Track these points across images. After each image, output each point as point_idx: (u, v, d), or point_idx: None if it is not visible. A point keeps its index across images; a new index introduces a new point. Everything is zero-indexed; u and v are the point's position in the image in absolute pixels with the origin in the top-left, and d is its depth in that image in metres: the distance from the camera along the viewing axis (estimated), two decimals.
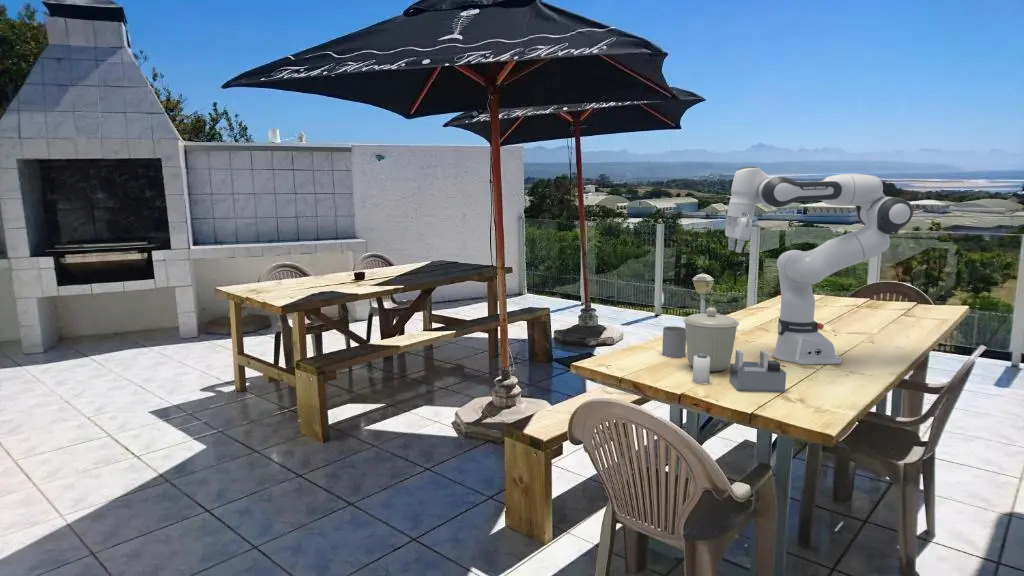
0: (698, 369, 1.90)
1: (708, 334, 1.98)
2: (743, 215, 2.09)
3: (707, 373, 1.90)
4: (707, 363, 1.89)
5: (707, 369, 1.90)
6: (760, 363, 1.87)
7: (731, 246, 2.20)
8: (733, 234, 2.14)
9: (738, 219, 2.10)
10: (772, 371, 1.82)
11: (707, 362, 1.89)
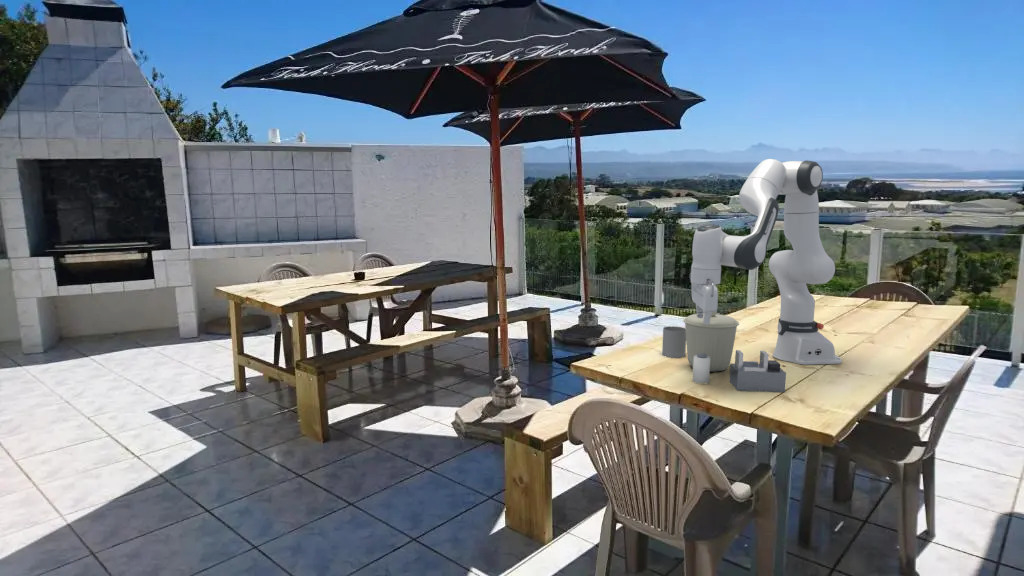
0: (698, 369, 1.90)
1: (708, 334, 1.98)
2: (707, 282, 1.82)
3: (707, 373, 1.90)
4: (707, 363, 1.89)
5: (707, 369, 1.90)
6: (760, 363, 1.87)
7: (699, 314, 1.93)
8: (699, 303, 1.87)
9: (702, 287, 1.83)
10: (772, 371, 1.82)
11: (707, 362, 1.89)
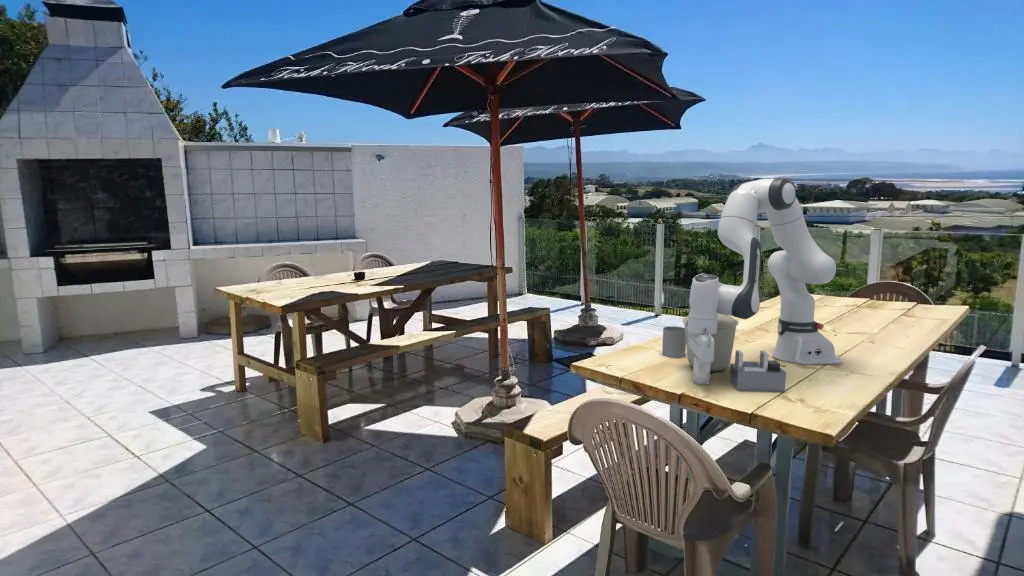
0: None
1: None
2: (704, 332, 1.84)
3: (707, 373, 1.89)
4: (707, 363, 1.89)
5: (707, 369, 1.89)
6: (760, 363, 1.87)
7: None
8: (695, 352, 1.89)
9: (699, 336, 1.85)
10: (772, 371, 1.82)
11: (707, 362, 1.88)
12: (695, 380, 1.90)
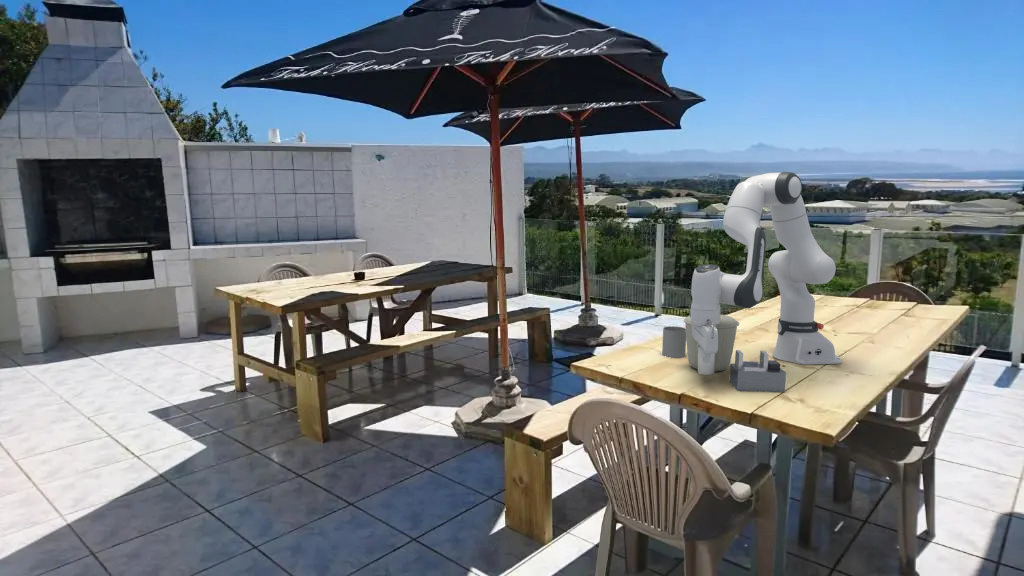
0: None
1: None
2: (707, 323, 1.84)
3: (712, 364, 1.89)
4: (712, 354, 1.89)
5: (712, 360, 1.89)
6: (760, 363, 1.87)
7: None
8: (699, 343, 1.89)
9: (702, 328, 1.85)
10: (772, 371, 1.82)
11: None
12: (700, 371, 1.91)
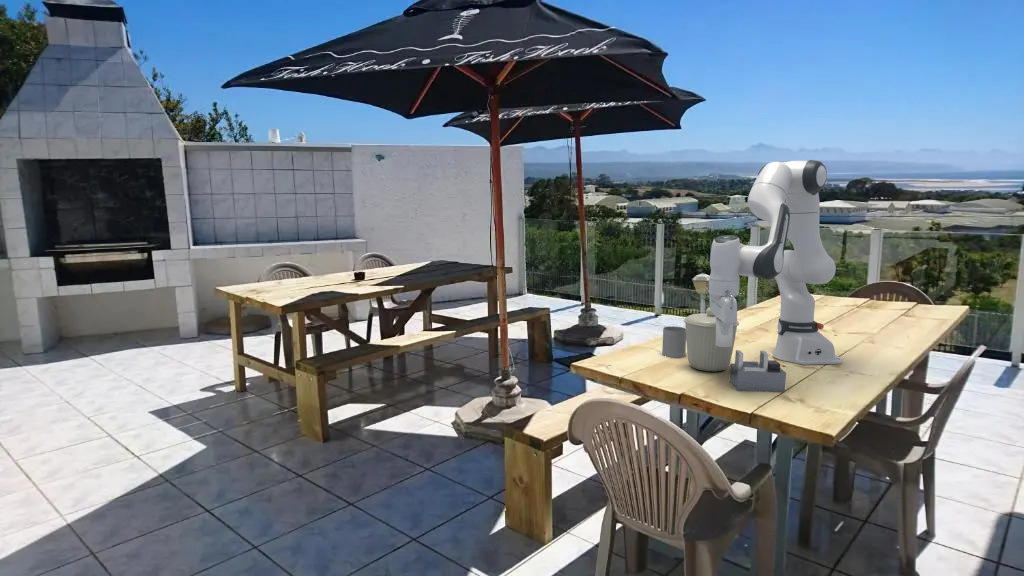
0: None
1: (708, 334, 1.98)
2: (726, 294, 1.81)
3: (730, 336, 1.86)
4: (730, 326, 1.86)
5: (730, 332, 1.86)
6: (760, 363, 1.87)
7: None
8: (718, 315, 1.86)
9: (721, 299, 1.82)
10: (772, 371, 1.82)
11: (730, 324, 1.86)
12: (718, 343, 1.88)
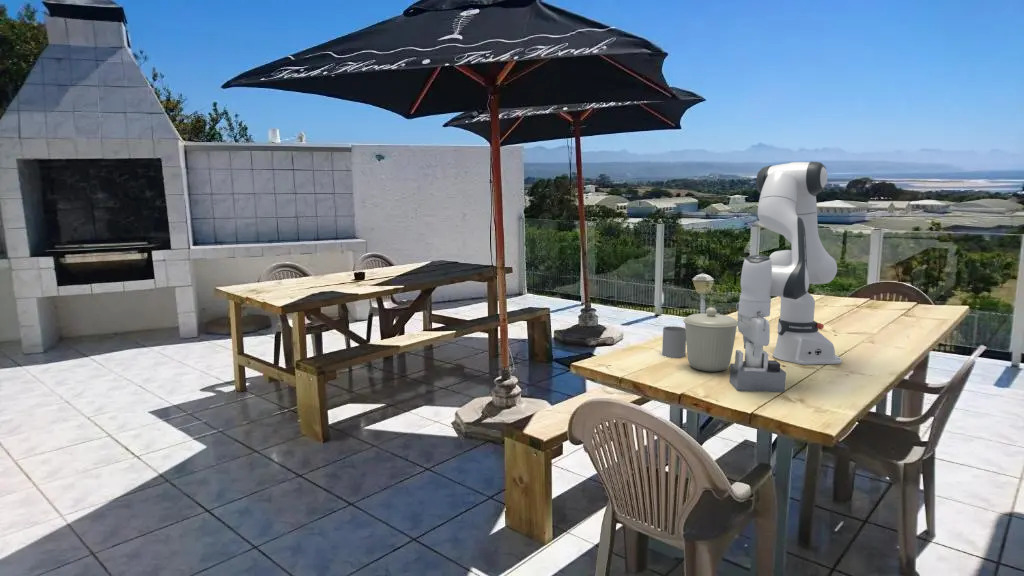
0: (750, 355, 1.84)
1: (708, 334, 1.98)
2: (758, 315, 1.78)
3: (760, 359, 1.84)
4: None
5: (760, 355, 1.84)
6: None
7: None
8: (748, 335, 1.83)
9: (752, 320, 1.79)
10: (772, 371, 1.82)
11: None
12: (747, 366, 1.85)
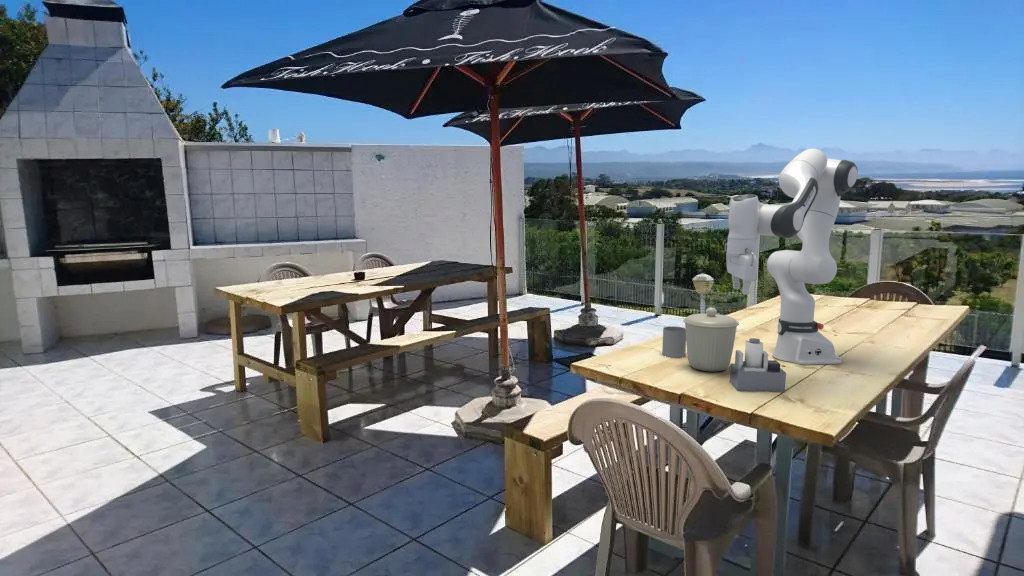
0: (750, 355, 1.84)
1: (708, 334, 1.98)
2: (746, 252, 1.82)
3: (760, 359, 1.84)
4: (760, 349, 1.83)
5: (760, 355, 1.84)
6: None
7: (736, 285, 1.93)
8: (737, 273, 1.87)
9: (741, 257, 1.83)
10: (772, 371, 1.82)
11: (760, 347, 1.83)
12: (747, 366, 1.85)
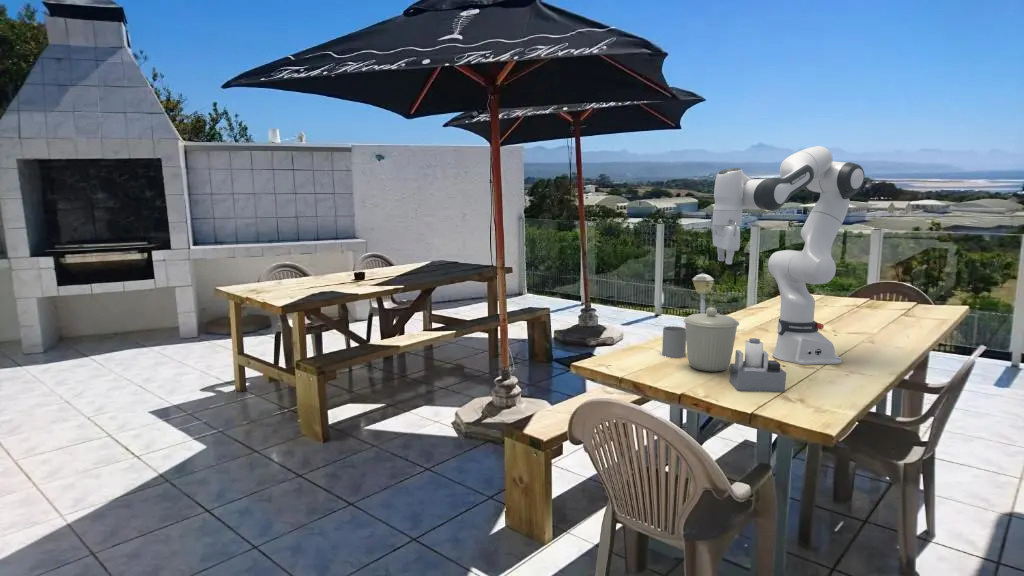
0: (750, 355, 1.84)
1: (708, 334, 1.98)
2: (729, 223, 1.89)
3: (760, 359, 1.84)
4: (760, 349, 1.83)
5: (760, 355, 1.84)
6: None
7: (721, 257, 2.00)
8: (721, 244, 1.93)
9: (724, 227, 1.90)
10: (772, 371, 1.82)
11: (760, 347, 1.83)
12: (747, 366, 1.85)
